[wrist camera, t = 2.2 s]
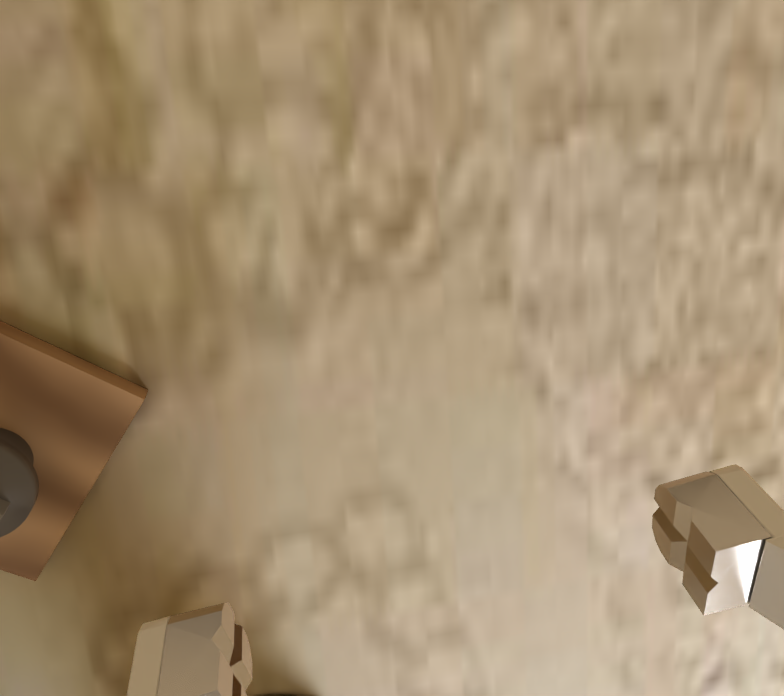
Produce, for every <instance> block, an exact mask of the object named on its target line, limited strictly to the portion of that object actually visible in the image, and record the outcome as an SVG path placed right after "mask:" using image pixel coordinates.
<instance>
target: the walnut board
mask: <svg viewBox="0 0 784 696" xmlns="http://www.w3.org/2000/svg"><path fill="white" fill-rule="evenodd" d="M147 392H148V390H147V389H145V388H143V387H141V386H139V385H137V384H135V383H132V382H130V381H128V380H126V379H124V378H122V377H120V376H117V375H115V374H113V373H111V372H109V371H107V370H105V369H103V368H100V367H98V366H96V365H94V364H92V363H90V362H88V361H85V360H83V359H81V358H79V357H77V356H75V355H73V354H70V353H68V352H66V351H64V350H62V349H60V348H58V347H55V346H53V345H51V344H49V343H47V342H45V341H43V340H40V339H38V338H36V337H34V336H32V335H30V334H28V333H25V332H23V331H21V330H19V329H17V328H15V327H13V326H10V325H8V324H6V323H4V322H2V321H0V428H3V429H7V430H10V431H12V432H14V433H16V434H18V435H19V436H21V437H22V438H23V439H24V440H25V441H26V442H27V443H28V445H29V446H30V448H31V450H32V453H33V458H34V462H33V467H34V468H35V471H36V473H37V476H38V480H39V493H38V497H37V500H36V502H35V504H34V506H33V508H32V510H31V512H30V513H29V515H28V517H27V518H26V520H25V521H24V522H23V523H22V524H21V525H20V526H19V527H18V528H17V529H15V530H14V531H12V532H11V533H9V534H7V535H5V536H2V537H0V570H3V571H6V572H10V573H13V574H16V575H19V576H22V577H25V578H28V579H31V580H34V581H36V580H37V578H38V576H39V575H40V573H41V571H42V570H43V568H44V566H45V565H46V563H47V561H48V560H49V558H50V556H51V555H52V553H53V551H54V550H55V548H56V546H57V545H58V543H59V541H60V540H61V538H62V536H63V535H64V533H65V531H66V530H67V528H68V526H69V525H70V523H71V521H72V520H73V518H74V516H75V515H76V513H77V511H78V510H79V508H80V506H81V505H82V503H83V501H84V500H85V498H86V496H87V495H88V493H89V491H90V490H91V488H92V486H93V485H94V483H95V481H96V480H97V478H98V476H99V475H100V473H101V471H102V470H103V468H104V466H105V465H106V463H107V461H108V460H109V458H110V456H111V455H112V453H113V451H114V450H115V448H116V446H117V445H118V443H119V441H120V440H121V438H122V436H123V435H124V433H125V431H126V430H127V428H128V426H129V425H130V423H131V421H132V419H133V418H134V416H135V414H136V413H137V411H138V409H139V408H140V406H141V404H142V403H143V401H144V399H145V397H146V394H147Z"/></svg>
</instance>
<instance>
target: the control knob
mask: <svg viewBox="0 0 784 696" xmlns="http://www.w3.org/2000/svg"><path fill="white" fill-rule="evenodd" d="M33 462H34V458H33V453H32V450H31V448H30V446H29V445H28V443H27V442H26V441H25V440H24V439H23V438H22V437H21V436H19V435H18V434H16V433H14V432H12V431H10V430H7V429H3V428H0V537H2V536H5V535H7V534H9V533H11V532H12V531H14V530H15V529H17V528H18V527H19V526H20V525H21V524H22V523H23V522H24V521H25V520H26V518H27V517H28V515H29V513H30V512H31V510H32V508H33V506H34V504H35V502H36V500H37V497H38V493H39V480H38V476H37V473H36V471H35V468H34V467H33Z"/></svg>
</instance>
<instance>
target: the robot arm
mask: <svg viewBox="0 0 784 696" xmlns="http://www.w3.org/2000/svg"><path fill="white" fill-rule="evenodd" d="M654 499H655V501H656V502H657V504H658V505H659V506H660V507H659V508H658V509H657V511H656V512H655V513H654V514H653V519H652V529H653V533H654V536H655V540H656V543H657V545H658V547H659V549H660V551H661V553H662V554H663V556H664V557H665V559H666V561H667V562H668V564H670V565H672V566H674V567H676V568H677V569H679V570H681V571H683V583H682V584H683V586H684V587H685V589H686V590H687V592H688V593H689V595H690V596H691V598H692V599H693V600H694V602H695V603H696V605H697V606H698V608H699V609H700V611H701V612H702V614H703V615H708V614H712V613H716V612H720V611H724V610H728V609H732V608H735V607H739V606H743V605H747V604H749V607H750V608H751V609H753V610H755V611H756V612H758V613H759V614H761V615H762V616H764V617H765V618H767V619H768V620H770V621H771V622H773V623H775V624H776V625H778V626H779V627H781V628H782V629H784V511H783V510H782V509H781V508H780V507H779V505H778V504H777V503H776V502H775V501H774V500H773V499H772V498H771V497H770V496H769V495H768V494H767V493H766V492H765V491H764V490H763V489H762V488H761V487H760V486H759V485H758V484H757V483H756V482H755V480H754V479H753V478H752V477H751V476H750V475H749V474H748V473H747V472H746V471H745V470H744V469H743V468H742V467H740V466H738V465H731V466H727V467H724V468H720V469H716V470H713V471H710V472H703V473H699V474H696V475H692V476H689V477H685V478H682V479H678V480H675V481H671V482H668V483H664V484H661V485H659V486H658V487H657V488H656V490H655V497H654ZM234 622H235V612H234V610H233V609H232V607H231V605H230V604H229V602H226V603H222V604H218V605H214V606H210V607H206V608H202V609H198V610H194V611H190V612H186V613H181V614H177V615H173V616H169V617H165V618H161V619H157V620H154V621H150V622H146V623H143V624H142V626H141V628H140V630H139V632H138V634H137V639H136V645H135V651H134V656H133V662H132V667H131V673H130V679H129V684H128V690H127V696H247V694H246V692H245V691H246V689H247V688H248V686H249V684H250V683H251V681H252V679H253V677H252V657H251V650H250V644H249V641H248V638H247V635H246V633H245V631H244V629H243V627H242V626H239V625H237V624H235V623H234Z"/></svg>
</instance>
